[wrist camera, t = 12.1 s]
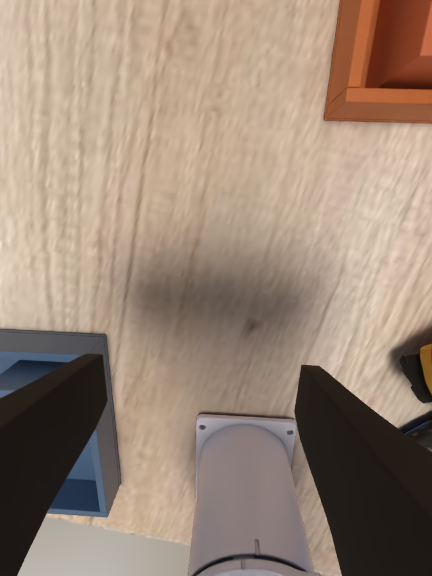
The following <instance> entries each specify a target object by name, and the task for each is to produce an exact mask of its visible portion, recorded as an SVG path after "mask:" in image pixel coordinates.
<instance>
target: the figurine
mask: <svg viewBox="0 0 432 576" xmlns="http://www.w3.org/2000/svg"><path fill="white" fill-rule="evenodd" d="M400 364H401V367H402V370H403V372H404V374H405V375H406V377H407V378H408V380H409V381H410V382H411V384H412V386H411V389H412V391H413V392H414V394H415V395H416V397H417V398H418V399H419V400H420V401H421V402H422V403H427V402H432V344H429V345H426V346H422V347H421V349H420V355H419V354H408V355H406V356H401V358H400Z"/></svg>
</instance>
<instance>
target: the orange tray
mask: <svg viewBox="0 0 432 576" xmlns="http://www.w3.org/2000/svg"><path fill="white" fill-rule="evenodd" d="M380 1H381V0H340V7H339V15H338V22H337V29H336V36H335V43H334V50H333V58H332V65H331V72H330V79H329V86H328V94H327V101H326V108H325V115H324V120H339V121H374V122H409V123H432V90H428V89H388V88H365V86H366V80H367V75H368V69H369V63H370V58H371V52H372V46H373V41H374V35H375V29H376V23H377V18H378V12H379V6H380Z"/></svg>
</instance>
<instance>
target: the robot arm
mask: <svg viewBox="0 0 432 576" xmlns="http://www.w3.org/2000/svg"><path fill="white" fill-rule="evenodd" d="M107 401H108V397H107V388H106V379H105V370H104V360H103V354H88V353H86V354H84V355H82V356H80V357H78V358H76V359H74V360H72V361H70V362H68V363H66V364H64V365H62V366H61V367H59V368H57V369H55V370H53V371H51V372H50V373H48V374H46V375H44V376H42V377H40V378H39V379H37V380H35V381H33V382H31V383H29V384H27V385H25V386H23V387H21V388H20V389H18V390H16V391H14V392H12V393H10V394H8V395H6V396H4V397H2V398H0V576H17V574H18V572H19V570H20V568H21V566H22V563H23V562H24V559H25V557H26V555H27V553H28V551H29V549H30V546H31V545H32V543H33V540H34V538H35V536H36V534H37V532H38V530H39V528H40V526H41V524H42V522H43V520H44V518H45V516H46V514H47V512H48V510H49V508H50V506H51V505H52V503H53V501H54V499H55V497H56V495H57V494H58V492H59V490H60V489H61V487H62V485H63V483H64V482H65V480H66V478H67V477H68V475H69V473H70V472H71V470H72V468H73V467H74V465H75V463H76V462H77V460H78V458H79V456H80V455H81V453H82V451H83V450H84V448H85V446H86V445H87V443H88V441H89V439H90V438H91V436H92V434H93V432H94V431H95V429H96V427H97V425H98V423H99V420H100V418H101V416H102V414H103V411H104V409H105V406H106V404H107ZM294 412H295V417H296V422H297V425H296V422H295V421H294V420H292V419H278V418H261V417H244V416H227V415H210V414H200V415H198V417H197V420H196V474H195V498H196V502H195V512H194V521H193V531H192V540H191V549H190V559H189V568H188V576H321V575H320V573H318V572H315V571H314V566H313V562H312V558H311V554H310V549H309V545H308V541H307V537H306V532H305V528H304V524H303V520H302V516H301V511H300V507H299V503H298V499H297V494H296V490H295V486H294V482H293V478H292V473H291V469H290V467H291V461H292V455H293V449H294V443H295V436H296V430H297V427H298V431H299V436H300V440H301V443H302V446H303V449H304V452H305V455H306V458H307V461H308V464H309V467H310V470H311V473H312V476H313V479H314V482H315V485H316V488H317V491H318V493H319V496H320V499H321V502H322V505H323V508H324V511H325V514H326V517H327V521H328V524H329V527H330V530H331V534H332V538H333V542H334V546H335V550H336V554H337V558H338V562H339V565H340V569H341V573H342V576H432V452H431V451H430V450H428V449H427V448H425V447H424V446H422V445H421V444H419V443H418V442H416V441H415V440H413V439H412V438H410V437H409V436H407V435H406V434H404V433H403V432H402V431H400V430H399V429H398V428H396V427H395V426H394V425H392V424H391V423H389V422H388V421H387V420H385V419H384V418H383V417H381V416H380V415H379V414H377V413H376V412H375V411H374V410H372V409H371V408H370V407H368V406H367V405H366V404H365V403H363V402H362V401H361V400H360V399H359V398H357V397H356V396H355V395H354V394H352V393H351V392H350V391H349V390H348V389H346V388H345V387H344V386H343V385H342V384H341V383H339V382H338V381H337V380H336V379H335V378H333V377H332V376H331V375H330V374H329V373H327V372H326V371H325V370H324V369H322V368H321V367H320V366H312V365H301V372H300V378H299V385H298V391H297V398H296V404H295V411H294ZM201 425H204V426H201ZM288 430H291V431H288Z"/></svg>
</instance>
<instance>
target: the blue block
mask: <svg viewBox="0 0 432 576" xmlns="http://www.w3.org/2000/svg"><path fill="white" fill-rule="evenodd" d="M66 363H68V362H54V361H35V360H19V361H17V362H16V363H15V364H13V365H12V366H11V367H9V368H8V369H7V370H5V371H4V372H3V373H2V374H0V398H2V397H4V396H6V395H8V394H10V393H12V392H14V391H16V390H18V389H20V388H21V387H23V386H25V385H27V384H29V383H31V382H33V381H35V380H37V379H39V378H40V377H42V376H44V375H46V374H48V373H50V372H51V371H53V370H55V369H57V368H59V367H61V366H62V365H64V364H66Z"/></svg>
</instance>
